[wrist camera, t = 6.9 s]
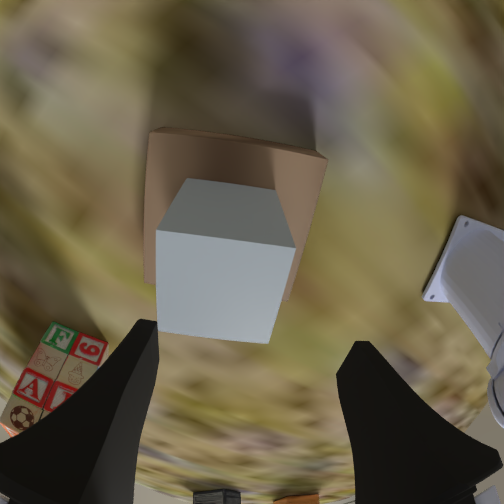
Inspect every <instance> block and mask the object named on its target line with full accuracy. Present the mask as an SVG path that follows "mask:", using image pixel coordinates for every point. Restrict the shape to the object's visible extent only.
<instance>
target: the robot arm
mask: <svg viewBox="0 0 504 504" xmlns="http://www.w3.org/2000/svg"><path fill="white" fill-rule="evenodd" d="M465 222H466V223H465ZM422 298H423V299H424V301H433V302H450V303H451V304H452V306H453V307H454V308H455V310H456V311H457V312H458V314H459V315H460V316H461V318H462V319H463V320H464V322H465V323H466V324H467V326H468V327H469V328H470V330H471V331H472V333H473V334H474V335H475V337H476V338H477V340H478V341H479V343H480V344H481V346H482V347H483V349H484V350H485V352H486V353H487V355H488V356H489V358H490V359H491V361H490V363H489V365H488V366H487V367H486V369H487V371H488V372H489V374H490V376H491V379H490V380H489V383H488V388H487V395H488V401H489V406H490V409H491V412H492V414H493V416H494V418H495V419H496V421H497V422H498V423H499V425H500V426H501V427H503V428H504V230H501V229H499V228H496V227H493V226H491V225H488V224H485V223H483V222H480V221H477V220H474V219H472V218H469V217H466V216H463V215H461V216H459V217H458V218H457V220H456V222H455V225H454V227H453V230H452V232H451V235H450V237H449V240H448V242H447V244H446V247H445V249H444V251H443V253H442V256H441V258H440V260H439V262H438V264H437V266H436V269H435V271H434V273H433V275H432V277H431V279H430V281H429V283H428V285H427V287H426V289H425V291H424V293H423V295H422ZM158 364H159V346H158V326H157V321H151V320H145V319H139V320H138V321H137V322H136V323H135V325H134V326H133V328H132V329H131V330H130V332H129V333H128V334H127V335H126V337H125V338H124V339H123V341H122V342H121V343H120V344H119V346H118V347H117V348H116V349H115V350H114V351H113V353H112V354H111V355H110V356H109V357H108V359H107V360H106V361H105V362H104V363H103V364H102V365H101V366H100V367H99V369H98V370H97V371H96V372H95V373H94V374H93V375H92V376H91V377H90V378H89V379H88V380H87V381H86V382H85V383H84V384H83V385H82V386H81V387H80V388H79V389H78V390H77V391H76V392H75V393H74V394H72V395H71V396H70V397H69V398H68V399H67V400H66V401H64V402H63V403H62V404H61V405H59V406H58V407H57V408H56V409H54V410H53V411H52V412H51V413H49V414H48V415H47V416H45V417H44V418H42V419H41V420H39V421H38V422H36V423H35V424H33V425H32V426H30V427H29V428H27V429H26V430H24V431H22V432H21V433H19V434H17V435H15V436H13V437H11V438H10V439H8V440H6V441H4V442H2V443H0V492H1V493H2V494H4V495H5V496H7V497H9V498H10V499H8V498H6V497H4V496H2V495H0V504H133V497H134V482H135V472H136V463H137V455H138V447H139V442H140V437H141V433H142V429H143V425H144V421H145V418H146V414H147V411H148V407H149V403H150V400H151V396H152V393H153V389H154V386H155V381H156V375H157V370H158ZM336 378H337V387H338V394H339V399H340V404H341V407H342V411H343V415H344V419H345V423H346V427H347V431H348V435H349V439H350V443H351V448H352V453H353V462H354V473H355V504H501V503H500V499H499V496H498V493H497V490H496V487H495V485H493V486H491V487H490V488H488V489H486V490H484V491H483V492H481V493H480V494H478V495H476V496H475V497H474V496H473V493H474V492H476V491H477V488H476V484H478V483H479V482H481V481H483V480H484V479H486V478H487V477H489V476H490V475H492V474H493V473H495V472H496V471H498V470H499V469H501V468H502V466H503V464H502V461H501V458H500V456H499V453H498V451H497V450H496V449H494V448H492V447H490V446H487V445H485V444H483V443H481V442H479V441H477V440H475V439H473V438H472V437H470V436H468V435H466V434H465V433H463V432H462V431H460V430H459V429H457V428H456V427H455V426H453V425H452V424H450V423H449V422H448V421H446V420H445V419H444V418H442V417H441V416H440V415H439V414H438V413H437V412H435V411H434V410H433V409H432V408H431V407H430V406H429V405H427V404H426V403H425V402H424V401H423V400H422V399H421V398H420V397H419V396H418V395H417V394H416V393H415V392H414V391H413V390H412V389H411V387H410V386H409V385H408V384H407V383H406V382H405V381H404V380H403V379H402V378H401V376H400V375H399V374H398V373H397V372H396V371H395V370H394V369H393V367H392V366H391V365H390V364H389V363H388V362H387V360H386V359H385V358H384V357H383V356H382V355H381V354H380V353H379V351H378V350H377V349H376V348H375V347H374V346H373V345H372V344H371V343H370V342H369V341H355V343H354V344H353V346H352V348H351V350H350V351H349V353H348V355H347V357H346V358H345V360H344V362H343V363H342V365H341V367H340V368H339V370H338V372H337V373H336Z"/></svg>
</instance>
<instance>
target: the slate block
mask: <svg viewBox="0 0 504 504" xmlns="http://www.w3.org/2000/svg"><path fill="white" fill-rule="evenodd" d="M295 250H296V247H295V244H294V241H293V238H292V235H291V232H290V229H289V226H288V223H287V220H286V218H285V215H284V212H283V209H282V206H281V203H280V201H279V198H278V195H277V192H276V190H271V189H265V188H259V187H252V186H245V185H238V184H231V183H224V182H216V181H208V180H200V179H192V178H187V179H186V180H185V182H184V184H183V185H182V187H181V188H180V190H179V192H178V193H177V195H176V197H175V198H174V200H173V202H172V203H171V205H170V207H169V208H168V210H167V212H166V213H165V215H164V217H163V219H162V220H161V222H160V224H159V226H158V227H157V229H156V298H157V321H158V331H162V332H169V333H176V334H183V335H190V336H198V337H206V338H214V339H223V340H233V341H243V342H254V343H267V344H268V343H269V339H270V336H271V333H272V330H273V326H274V323H275V320H276V317H277V313H278V310H279V306H280V303H281V300H282V296H283V293H284V289H285V286H286V282H287V279H288V275H289V272H290V268H291V265H292V261H293V258H294V254H295Z"/></svg>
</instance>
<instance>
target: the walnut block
mask: <svg viewBox="0 0 504 504" xmlns="http://www.w3.org/2000/svg"><path fill="white" fill-rule="evenodd" d="M327 163H328V159H326V158H325V157H324V156H322V155H321V154H320V153H318V152H317V151H314V150H309V149H305V148H300V147H296V146H291V145H286V144H281V143H276V142H270V141H265V140H259V139H254V138H248V137H241V136H235V135H228V134H221V133H214V132H206V131H197V130H188V129H178V128H167V127H161V128H158V129H156V130H153V131H151V132H149V141H148V152H147V164H146V179H145V199H144V283H149V284H155V285H156V229H157V227H158V226H159V224H160V222H161V220H162V219H163V217H164V215H165V213H166V212H167V210H168V208H169V207H170V205H171V203H172V202H173V200H174V198H175V197H176V195H177V193H178V192H179V190H180V188H181V187H182V185H183V184H184V182H185V180H186V179H187V178H192V179H200V180H208V181H216V182H224V183H231V184H238V185H245V186H252V187H259V188H265V189H271V190H276V192H277V195H278V198H279V201H280V203H281V206H282V209H283V212H284V215H285V218H286V220H287V223H288V226H289V229H290V232H291V235H292V238H293V241H294V244H295V247H296V250H295V254H294V258H293V261H292V265H291V268H290V272H289V275H288V279H287V282H286V286H285V289H284V293H283V296H282V300H281V301H288V299H289V296H290V293H291V290H292V286H293V283H294V280H295V277H296V273H297V270H298V267H299V264H300V260H301V257H302V254H303V250H304V247H305V243H306V240H307V237H308V233H309V230H310V226H311V223H312V219H313V215H314V212H315V208H316V205H317V201H318V197H319V194H320V190H321V186H322V182H323V178H324V175H325V171H326V167H327Z"/></svg>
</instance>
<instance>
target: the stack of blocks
mask: <svg viewBox="0 0 504 504" xmlns="http://www.w3.org/2000/svg"><path fill="white" fill-rule="evenodd" d="M108 347H109V344H108V343H107V342H105V341H102V340H99V339H97V338H94V337H91V336H88V335H86V334H83V333H81V332H77V331H75V330H72V329H70V328H68V327H65V326H63V325H60V324H58V323H56V322H54V321H53V322H52V323H51V325H50V326H49V328H48V329H47V331H46V332H45V334H44V336H43V337H42V339H41V341H40V344H39V346H38V347H37V349H36V351H35V352H34V354H33V356H32V357H31V359H30V361H29V363H28V365H27V367H26V368H24V370H23V372H22V374H21V376H20V378H19V380H18V382H17V383H16V386H15V388H14V390H13V392H12V395H11V397H10V399H9V401H8V403H7V405H6V407H5V409H4V411H3V413H2V415H1V417H0V424H1V425H2V426H3V428H4V429H5V430H6V432H7V433H8V434H9V435H10V436H11V437H13V436H15V435H17V434H19V433H21V432H22V431H24V430H26V429H27V428H29V427H30V426H32V425H33V424H35V423H36V422H38V421H39V420H41V419H42V418H44V417H45V416H47V415H48V414H49V413H51V412H52V411H53V410H54V409H56V408H57V407H58V406H59V405H61V404H62V403H63V402H64V401H66V400H67V399H68V398H69V397H70V396H71V395H72V394H74V393H75V392H76V391H77V390H78V389H79V388H80V387H81V386H82V385H83V384H84V383H85V382H86V381H87V380H88V379H89V378H90V377H91V376H92V375H93V374H94V373H95V372H96V371H97V370H98V369H99V367H100V366H101V365H102V364H103V363H104V362H105V361H106V360H107V359H108ZM11 437H10V438H11Z"/></svg>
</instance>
